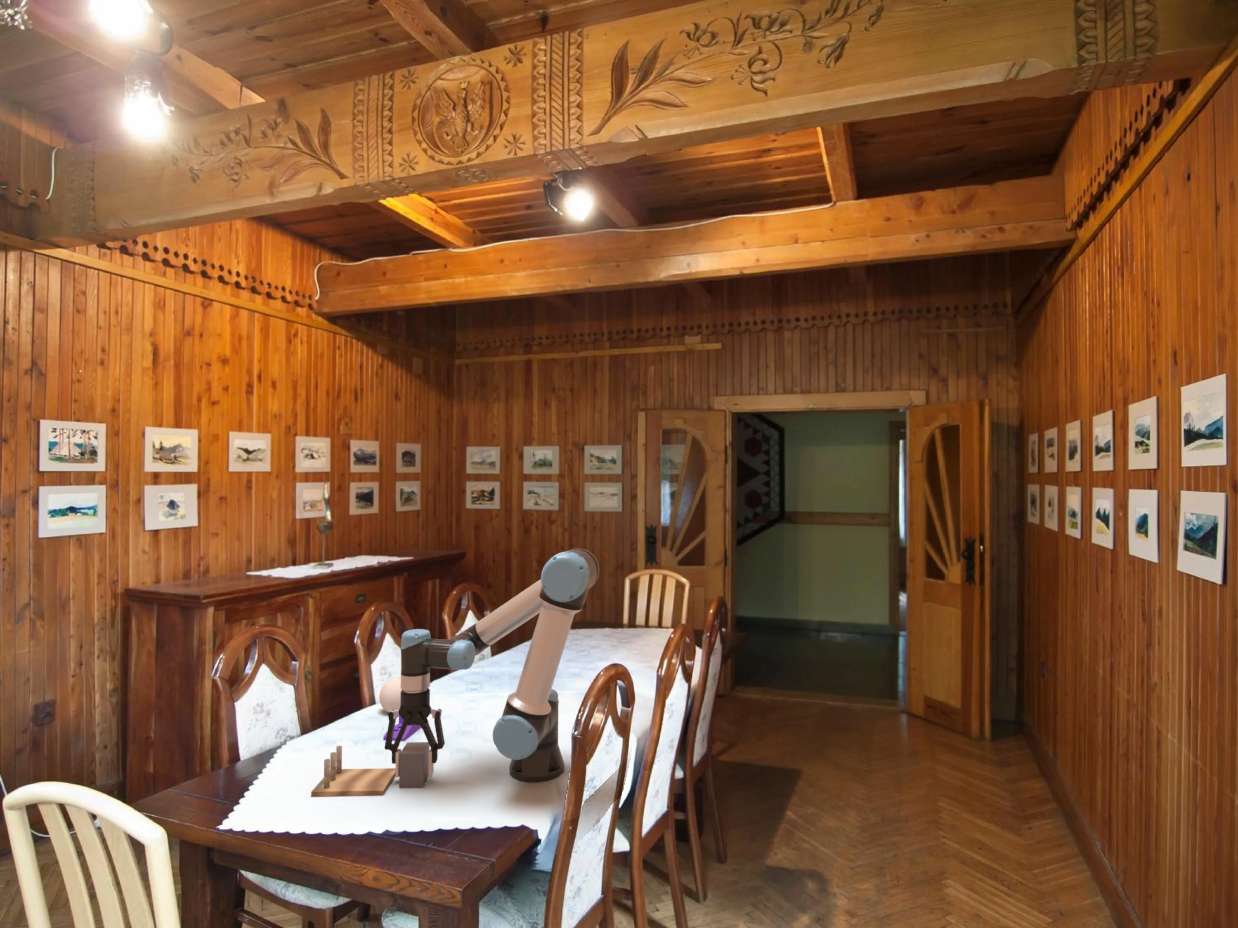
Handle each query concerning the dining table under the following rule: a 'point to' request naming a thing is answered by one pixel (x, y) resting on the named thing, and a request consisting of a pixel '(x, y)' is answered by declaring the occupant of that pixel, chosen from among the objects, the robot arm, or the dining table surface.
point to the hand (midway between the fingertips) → (414, 774)
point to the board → (351, 779)
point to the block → (414, 765)
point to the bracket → (409, 731)
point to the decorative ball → (391, 695)
